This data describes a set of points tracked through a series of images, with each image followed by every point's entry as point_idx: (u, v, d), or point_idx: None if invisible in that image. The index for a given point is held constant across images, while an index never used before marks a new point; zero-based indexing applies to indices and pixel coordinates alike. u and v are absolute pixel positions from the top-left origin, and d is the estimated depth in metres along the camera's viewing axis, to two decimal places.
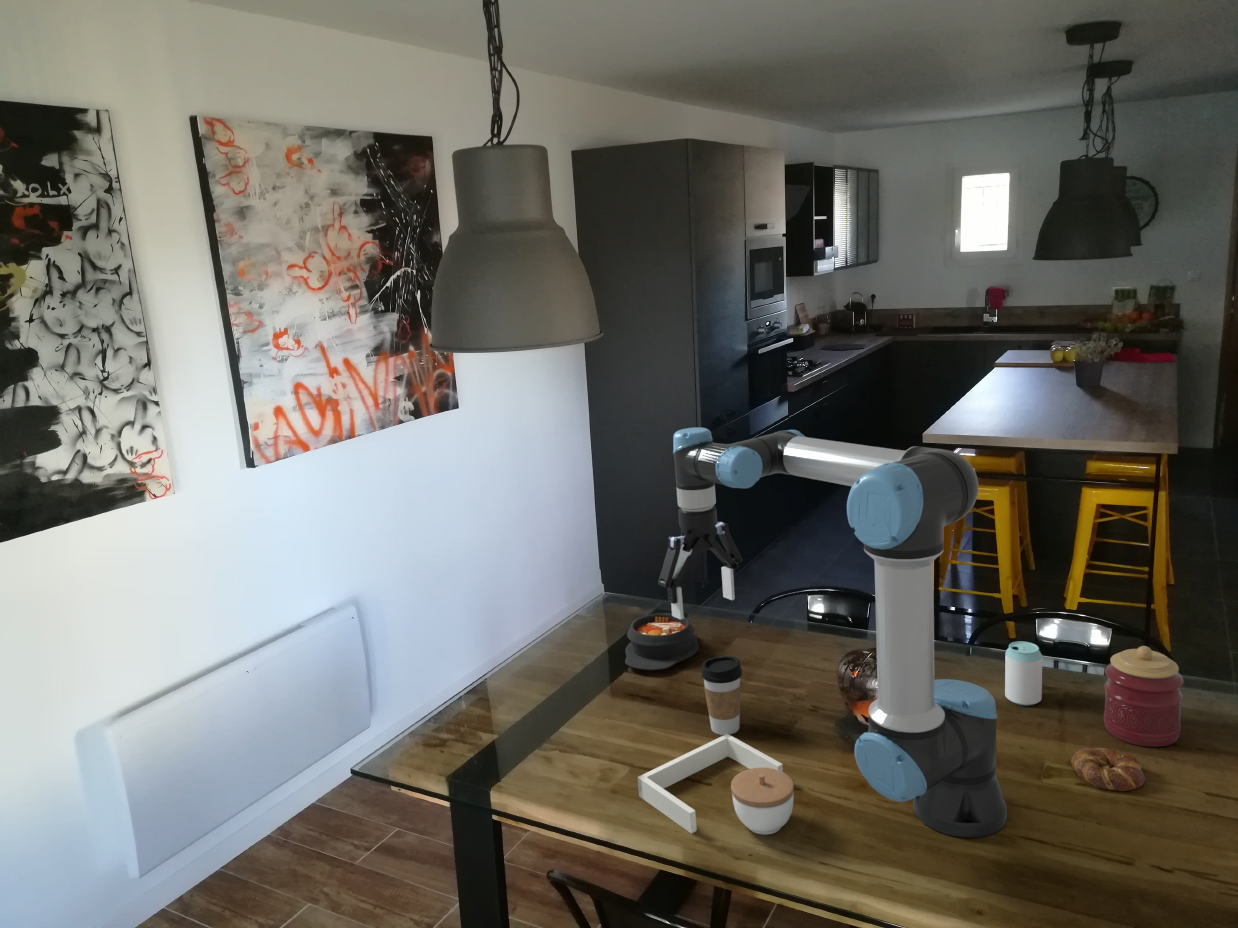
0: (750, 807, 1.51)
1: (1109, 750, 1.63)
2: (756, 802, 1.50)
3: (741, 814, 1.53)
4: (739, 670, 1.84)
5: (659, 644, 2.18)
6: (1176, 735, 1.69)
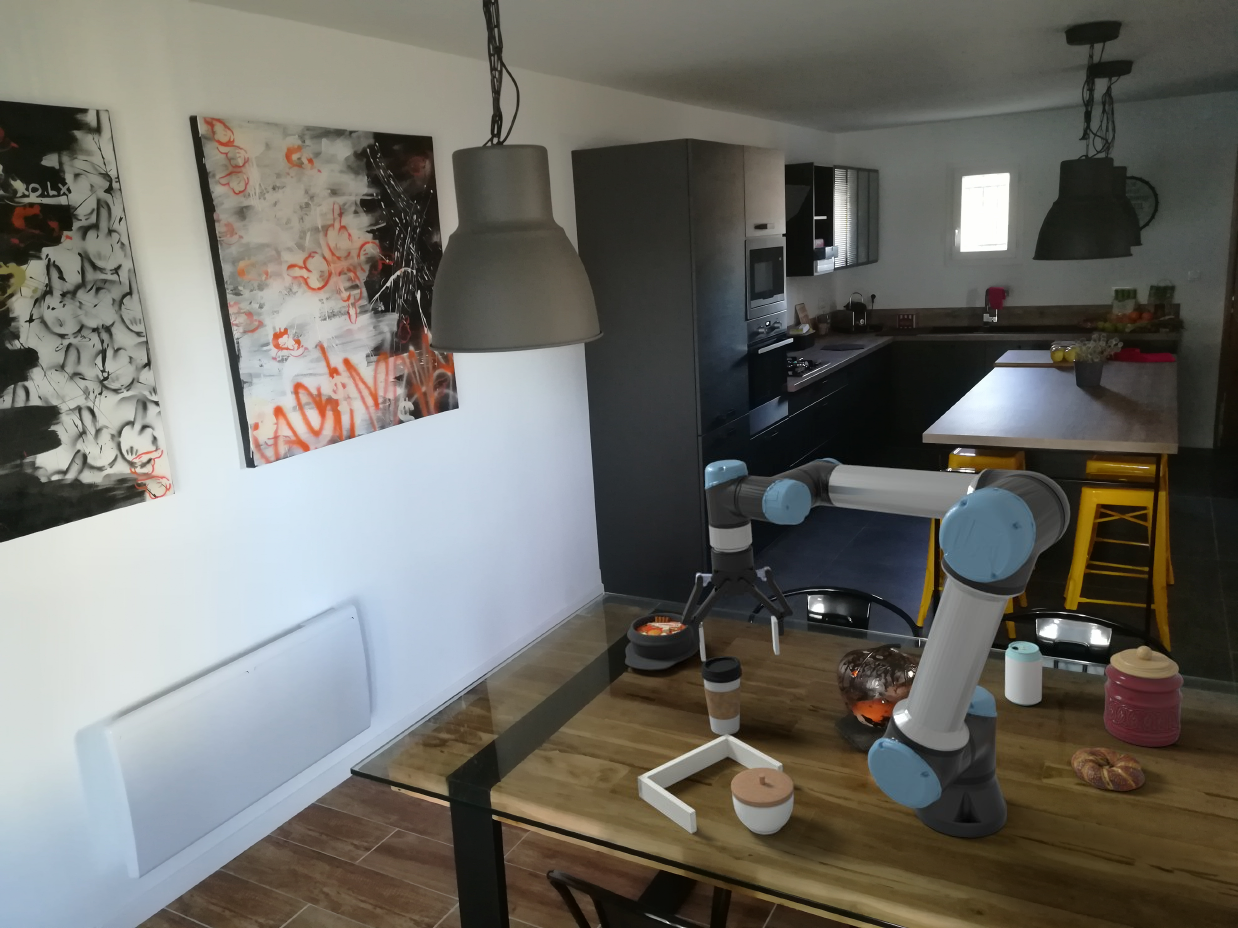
0: (750, 807, 1.51)
1: (1109, 750, 1.63)
2: (756, 802, 1.50)
3: (741, 814, 1.53)
4: (739, 670, 1.84)
5: (659, 644, 2.18)
6: (1176, 735, 1.69)
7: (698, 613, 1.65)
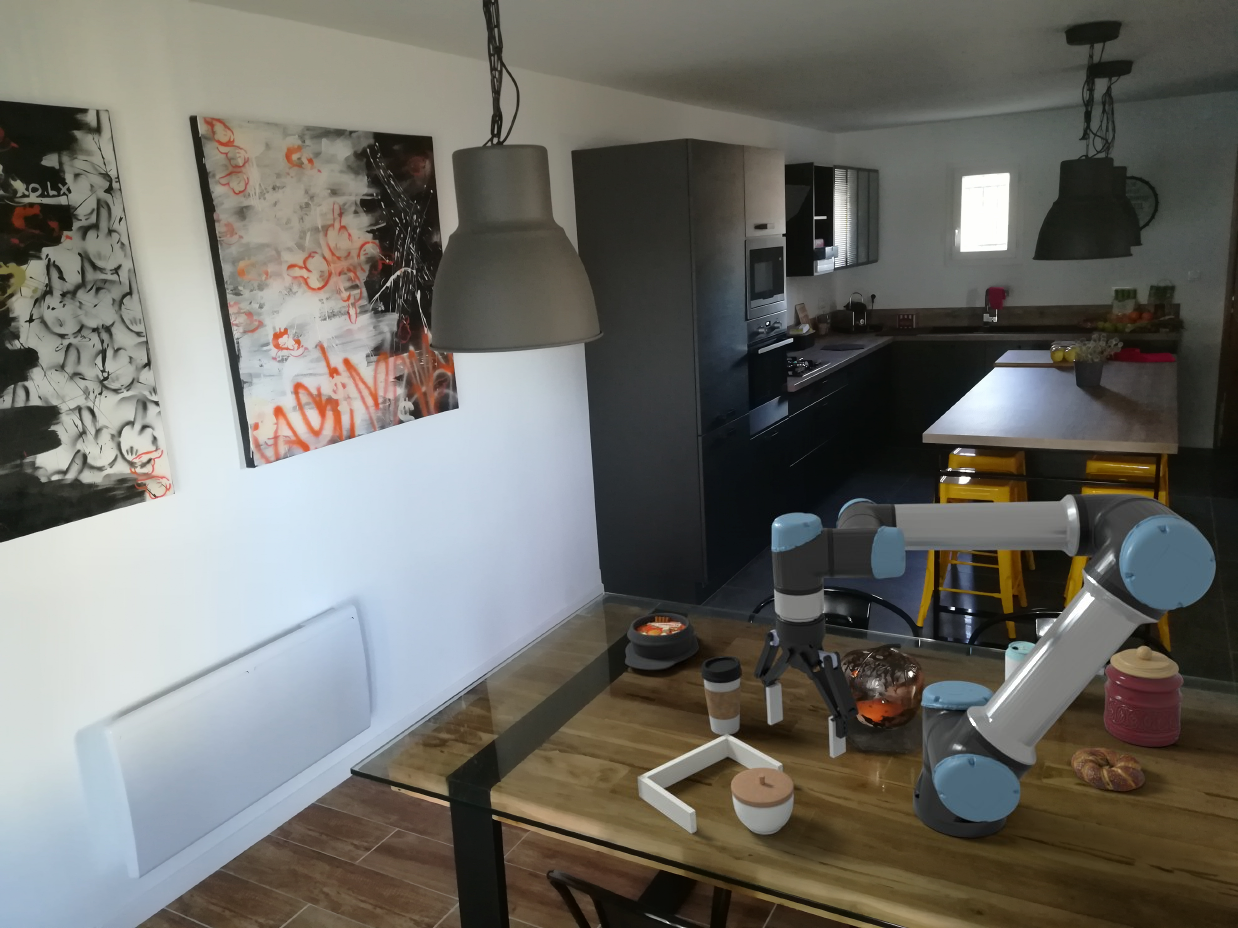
0: (750, 807, 1.51)
1: (1109, 750, 1.63)
2: (756, 802, 1.50)
3: (741, 814, 1.53)
4: (739, 670, 1.84)
5: (659, 644, 2.18)
6: (1176, 735, 1.69)
7: None
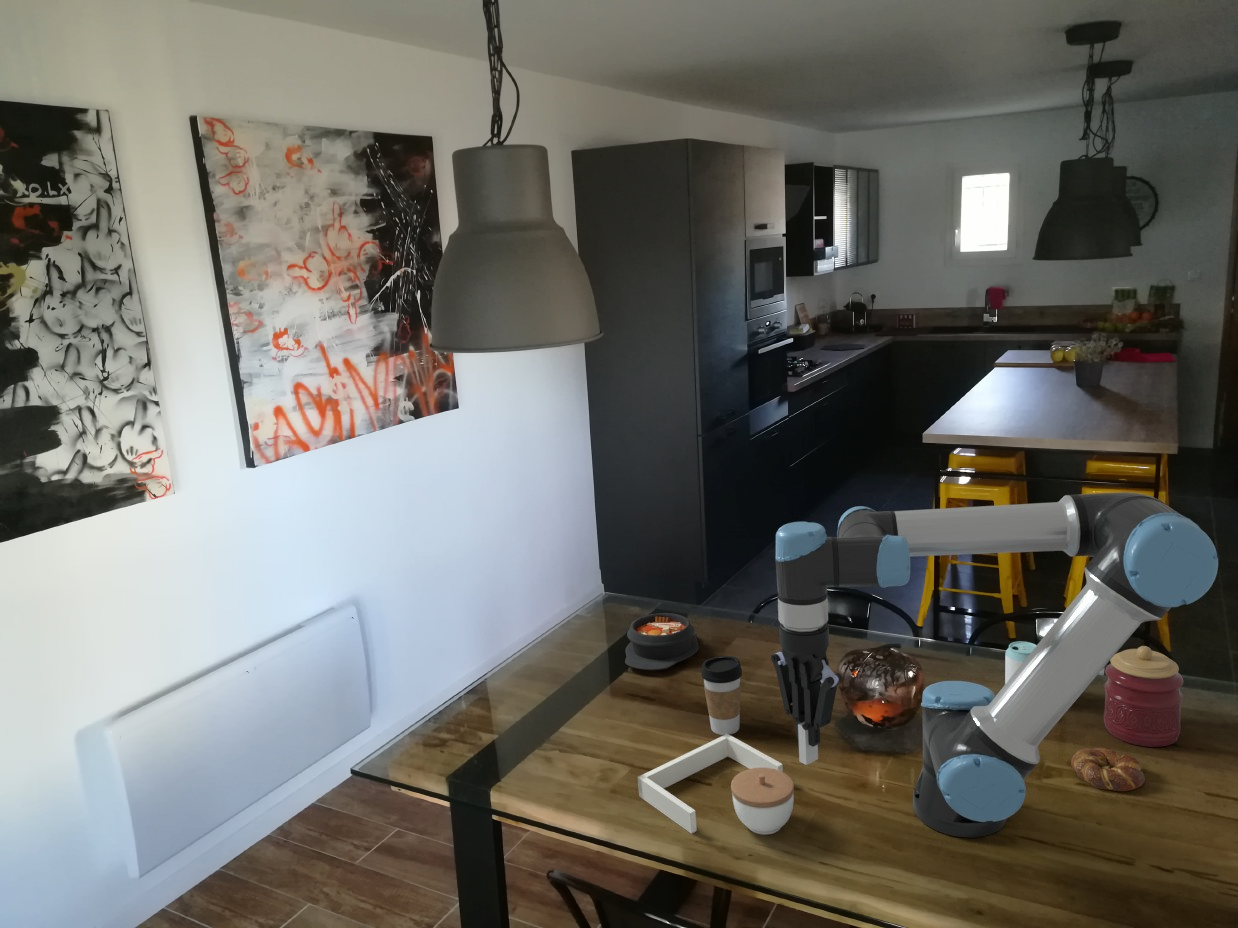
0: (750, 807, 1.51)
1: (1109, 750, 1.63)
2: (756, 802, 1.50)
3: (741, 814, 1.53)
4: (739, 670, 1.84)
5: (659, 645, 2.18)
6: (1176, 735, 1.69)
7: None
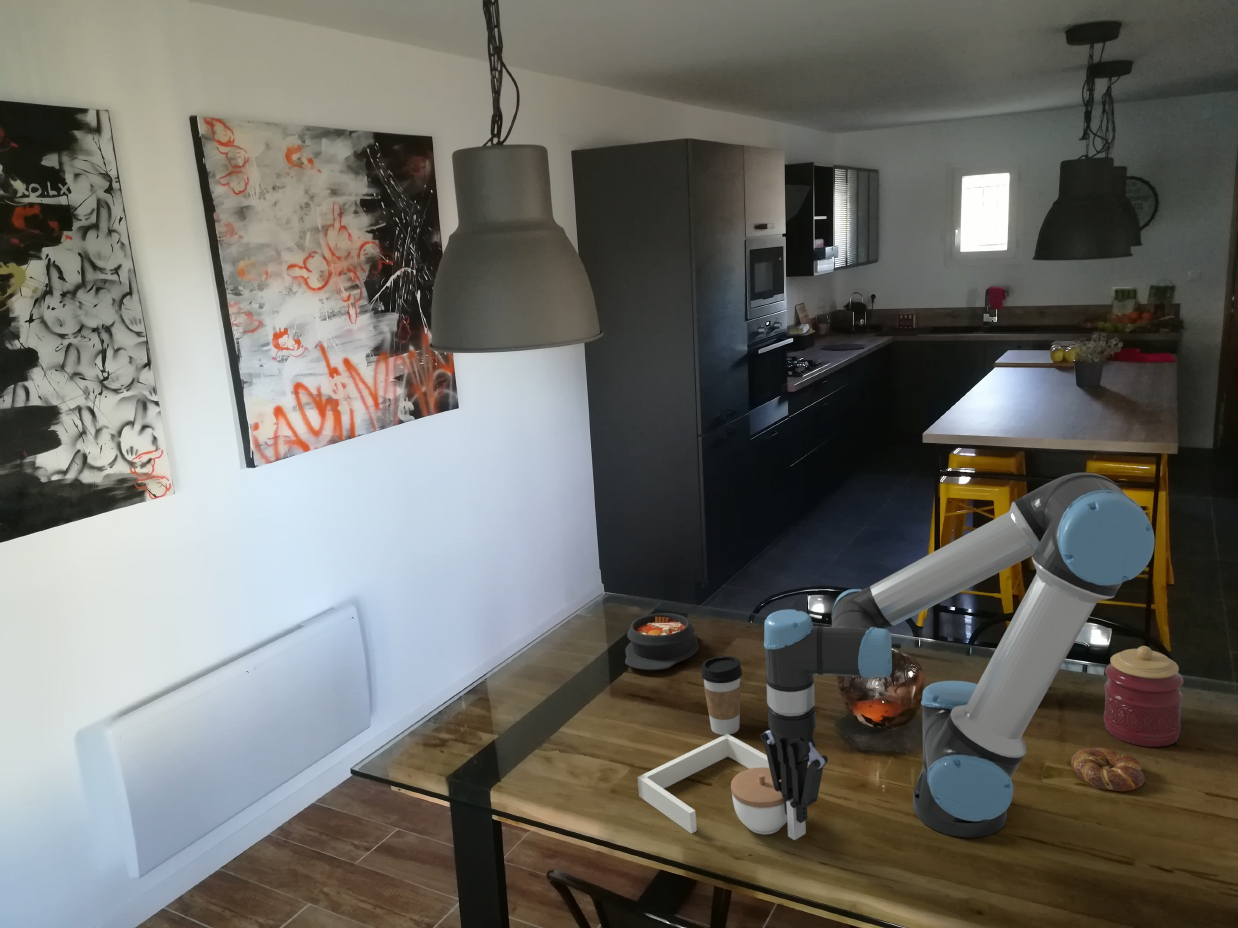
0: (750, 807, 1.51)
1: (1109, 750, 1.63)
2: (756, 802, 1.50)
3: (741, 814, 1.53)
4: (739, 670, 1.84)
5: (659, 645, 2.18)
6: (1176, 735, 1.69)
7: None
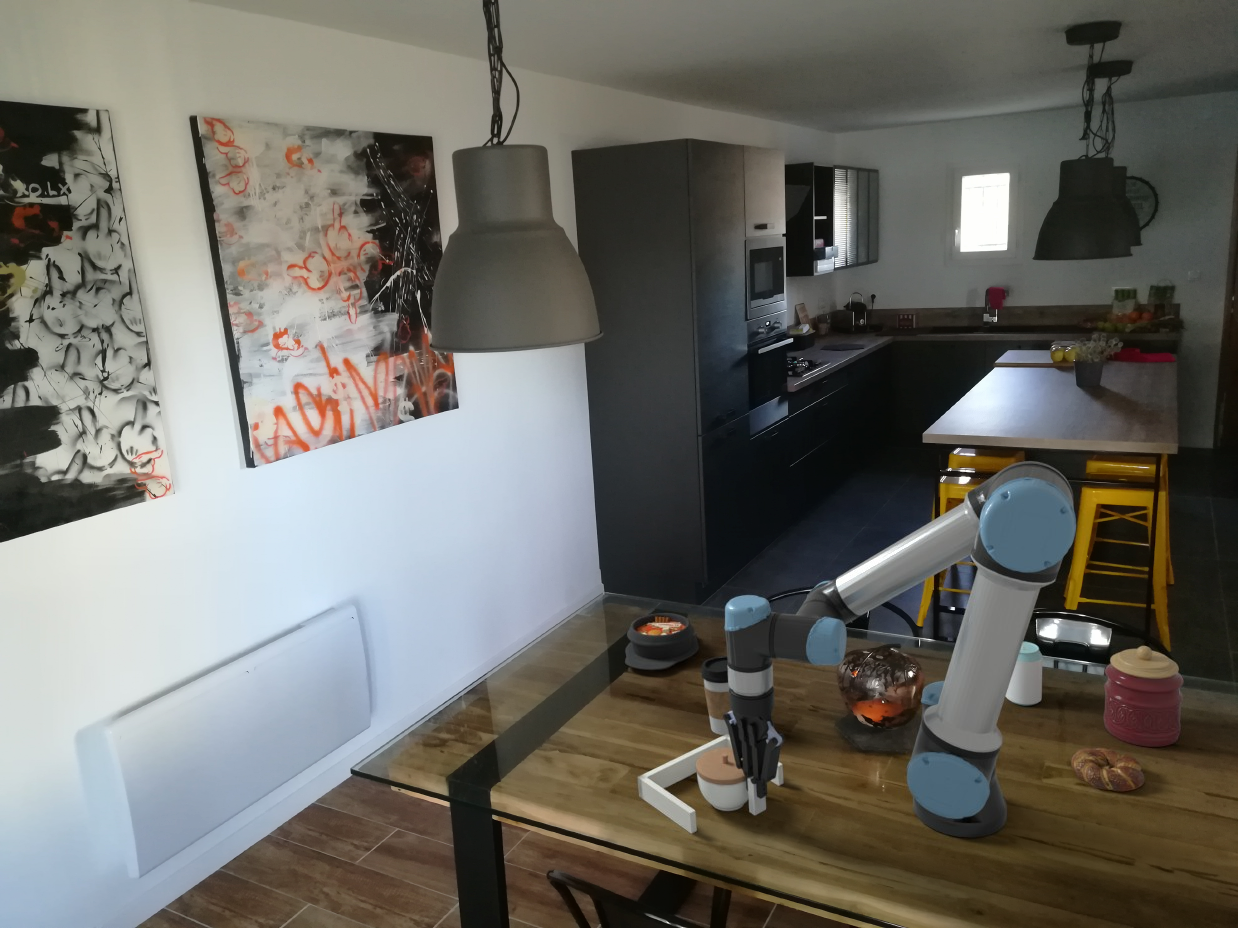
0: (713, 784, 1.58)
1: (1109, 750, 1.63)
2: (719, 779, 1.57)
3: (705, 792, 1.60)
4: None
5: (659, 644, 2.18)
6: (1176, 735, 1.69)
7: None
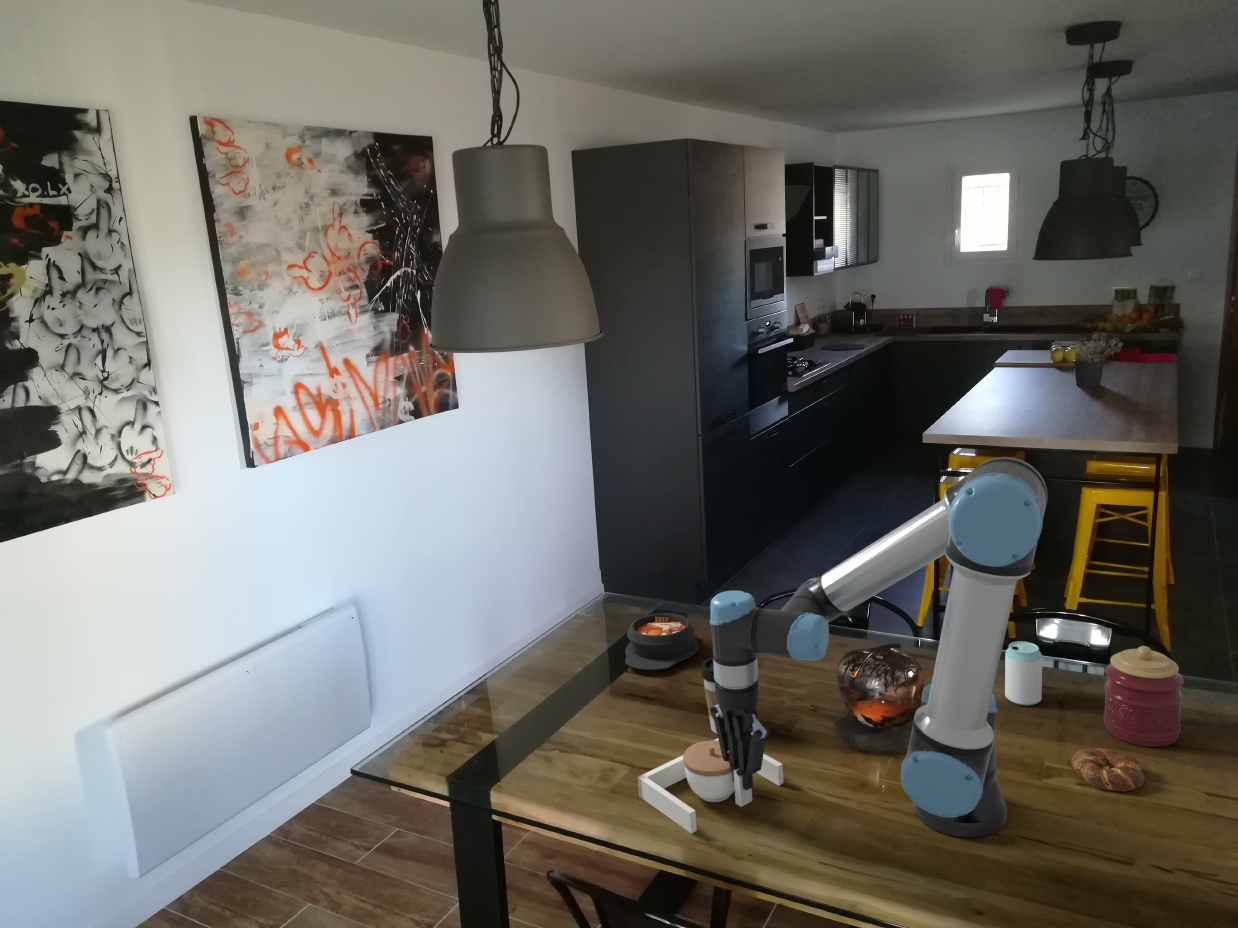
0: (700, 776, 1.61)
1: (1109, 751, 1.63)
2: (705, 771, 1.60)
3: (692, 783, 1.63)
4: None
5: (659, 645, 2.18)
6: (1176, 735, 1.69)
7: None
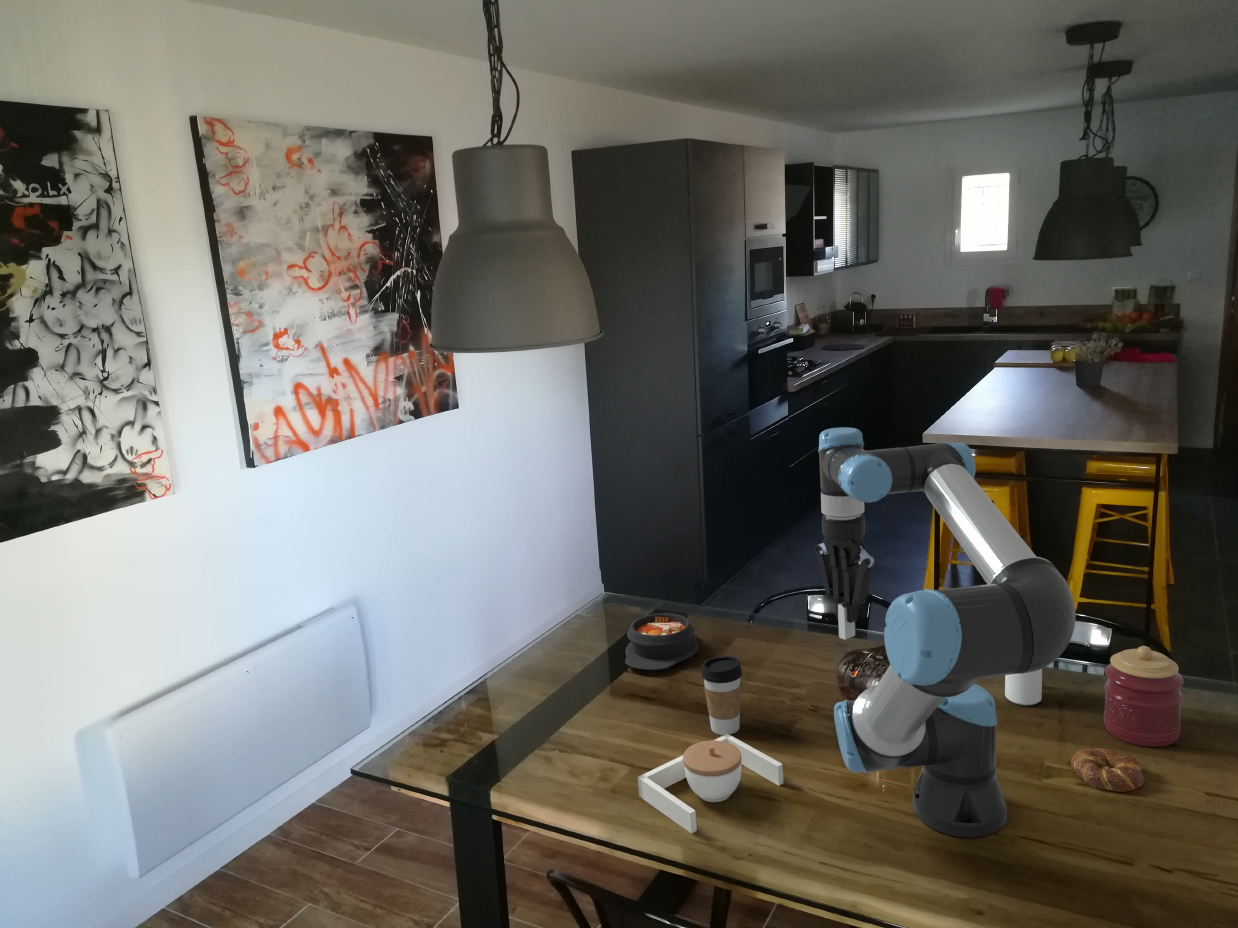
0: (699, 776, 1.61)
1: (1109, 751, 1.63)
2: (705, 771, 1.60)
3: (692, 783, 1.63)
4: (739, 670, 1.84)
5: (659, 644, 2.18)
6: (1176, 735, 1.69)
7: None
